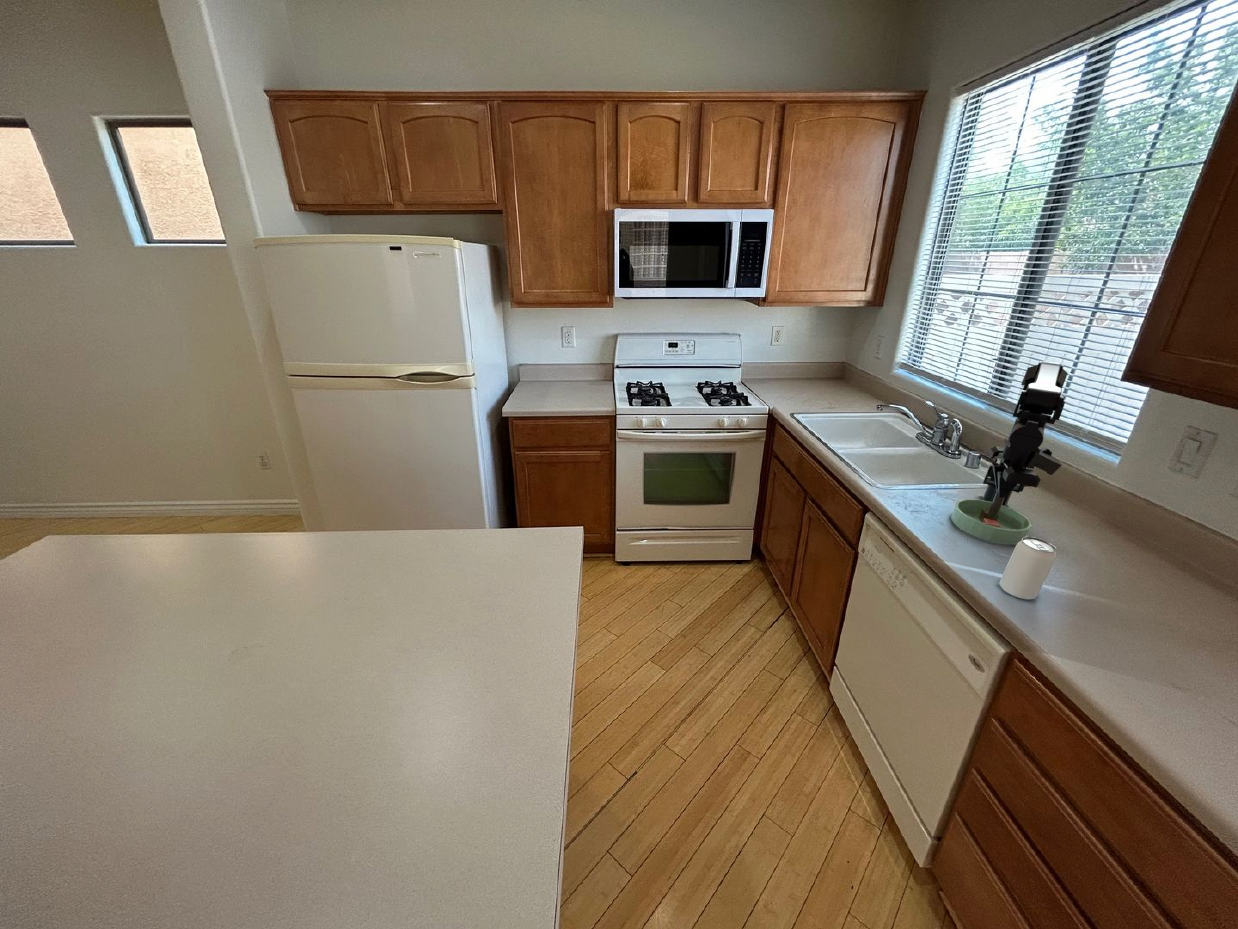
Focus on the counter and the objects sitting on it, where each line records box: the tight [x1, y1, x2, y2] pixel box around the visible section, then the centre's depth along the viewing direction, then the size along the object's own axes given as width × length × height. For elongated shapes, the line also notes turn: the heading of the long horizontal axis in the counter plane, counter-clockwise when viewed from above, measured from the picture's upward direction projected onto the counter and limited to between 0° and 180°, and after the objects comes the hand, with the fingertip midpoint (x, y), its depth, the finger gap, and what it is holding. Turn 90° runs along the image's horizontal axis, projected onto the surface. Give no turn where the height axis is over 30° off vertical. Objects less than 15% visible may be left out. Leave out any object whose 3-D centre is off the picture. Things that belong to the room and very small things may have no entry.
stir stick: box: [987, 489, 1004, 518], centre depth 121 cm, size 2×2×12 cm
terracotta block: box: [982, 518, 1000, 528], centre depth 122 cm, size 3×3×3 cm
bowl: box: [950, 498, 1033, 545], centre depth 124 cm, size 16×16×4 cm
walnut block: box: [979, 508, 999, 522], centre depth 127 cm, size 3×3×3 cm
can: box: [999, 536, 1058, 601], centre depth 100 cm, size 6×6×12 cm
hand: (1000, 495), depth 121 cm, fingers closed on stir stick, 2 cm apart
